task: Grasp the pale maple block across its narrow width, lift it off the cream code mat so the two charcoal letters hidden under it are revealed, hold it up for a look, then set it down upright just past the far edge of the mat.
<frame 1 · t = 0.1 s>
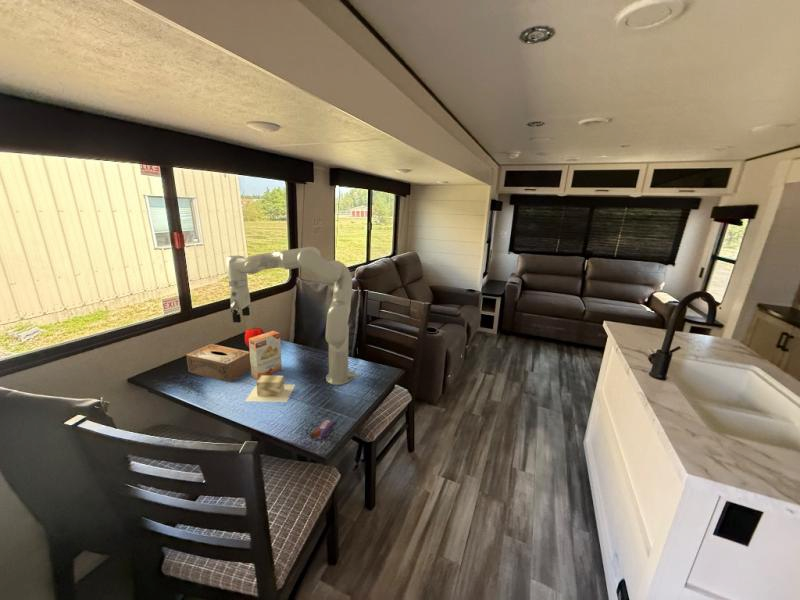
hand: (241, 318, 143), 31 cm above the table, tool pointing down, fingers open, 9 cm apart
maple block: (271, 392, 140), resting on code mat
tomato: (256, 348, 184), on the table
snack package: (323, 430, 119), on the table
tissue box cover: (221, 371, 157), on the table
cracker box: (267, 373, 157), on the table
code mat: (271, 392, 140), on the table
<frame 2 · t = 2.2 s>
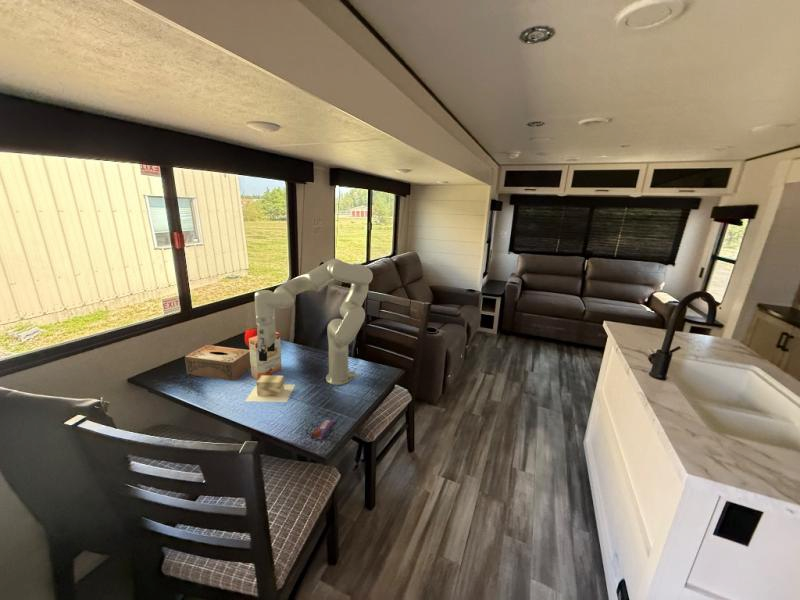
hand: (267, 355, 135), 19 cm above the table, tool pointing down, fingers open, 9 cm apart
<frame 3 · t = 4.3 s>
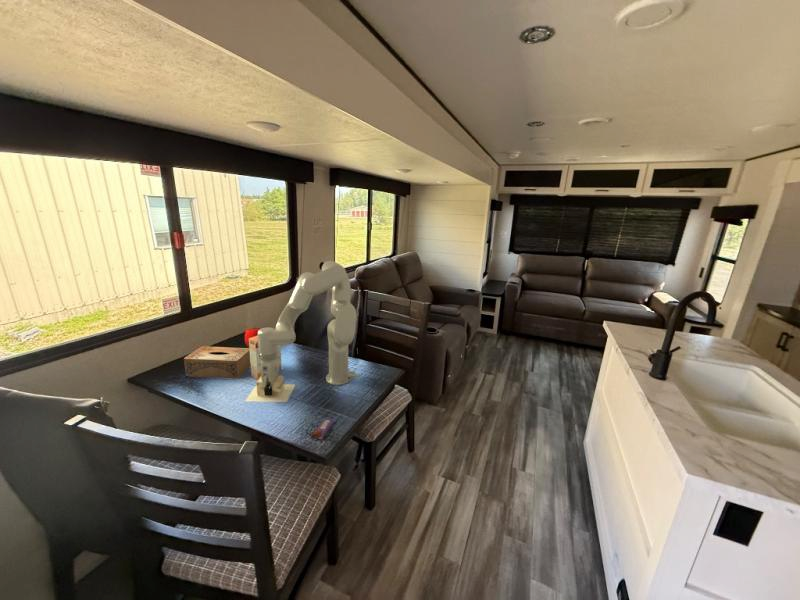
hand: (271, 390, 140), 1 cm above the table, tool pointing down, fingers closed on maple block, 6 cm apart
maple block: (271, 392, 140), resting on code mat, touching gripper
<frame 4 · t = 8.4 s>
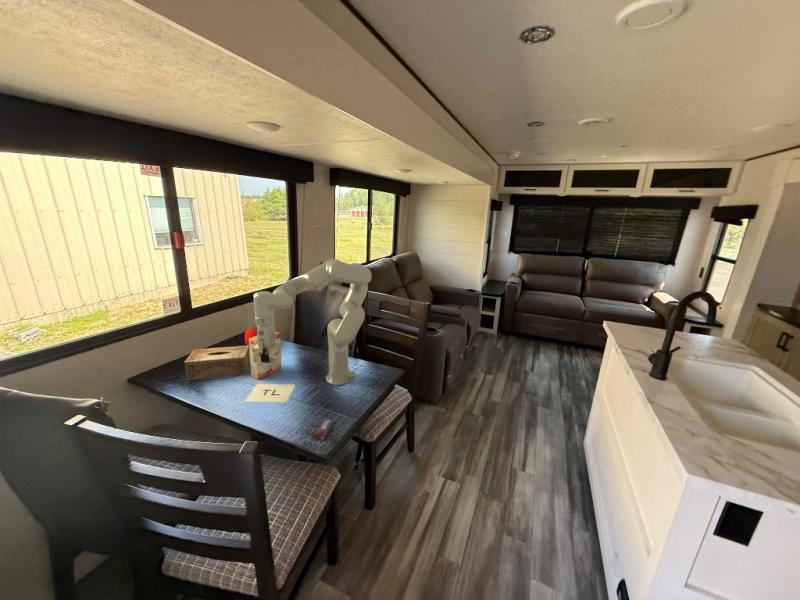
hand: (267, 358, 135), 18 cm above the table, tool pointing down, fingers closed on maple block, 6 cm apart
maple block: (267, 360, 135), point 17 cm above the table, touching gripper
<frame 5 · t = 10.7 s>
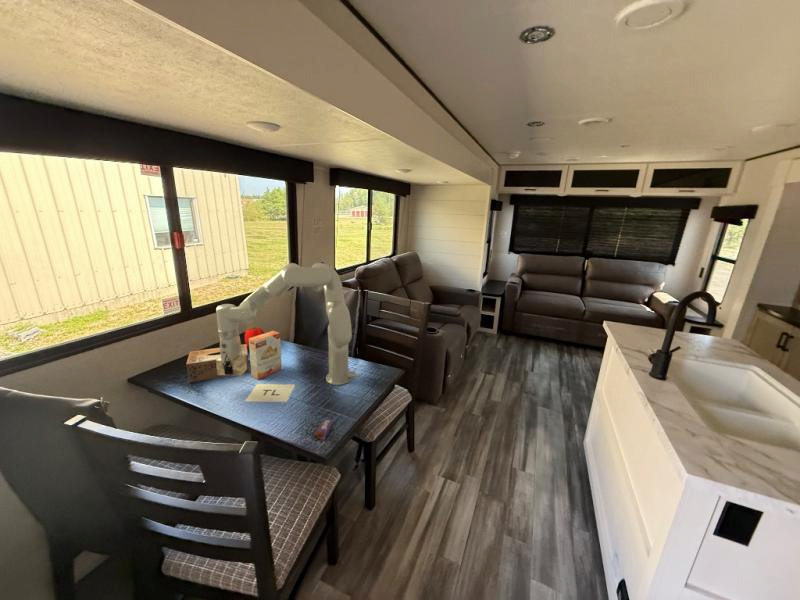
hand: (232, 370, 136), 11 cm above the table, tool pointing down, fingers closed on maple block, 6 cm apart
maple block: (232, 371, 136), point 11 cm above the table, touching gripper
when the fingers open (2 cm above the table, at t = 12.7 s): maple block drops 2 cm, on the table.
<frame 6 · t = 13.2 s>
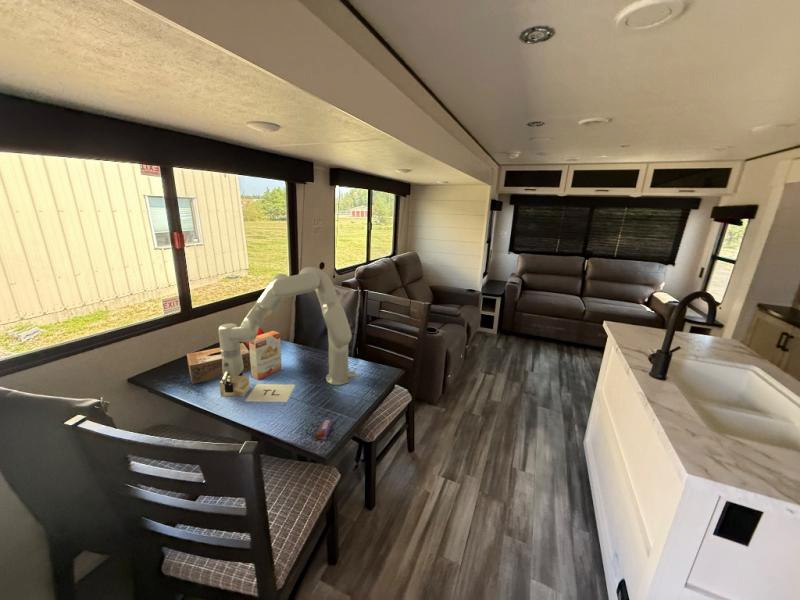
hand: (234, 386, 138), 3 cm above the table, tool pointing down, fingers open, 9 cm apart
maple block: (235, 392, 139), on the table
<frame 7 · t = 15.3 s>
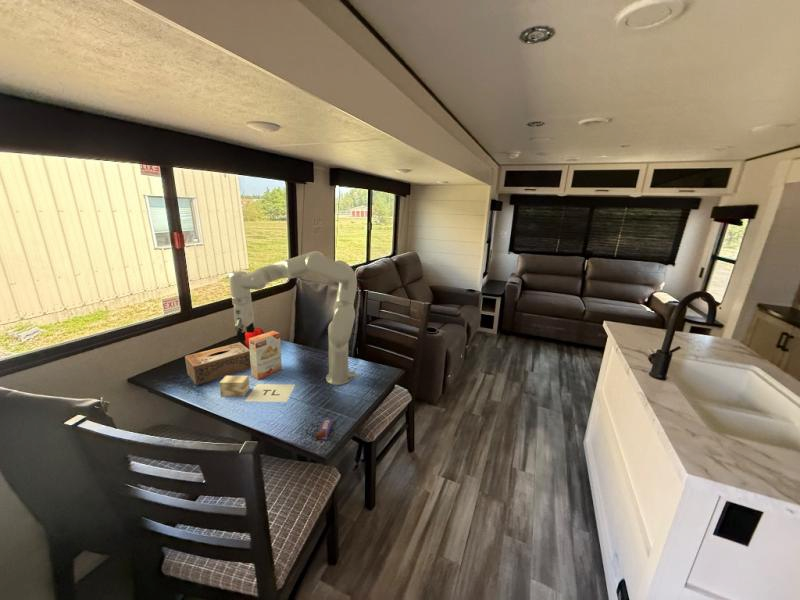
hand: (246, 336, 138), 25 cm above the table, tool pointing down, fingers open, 9 cm apart
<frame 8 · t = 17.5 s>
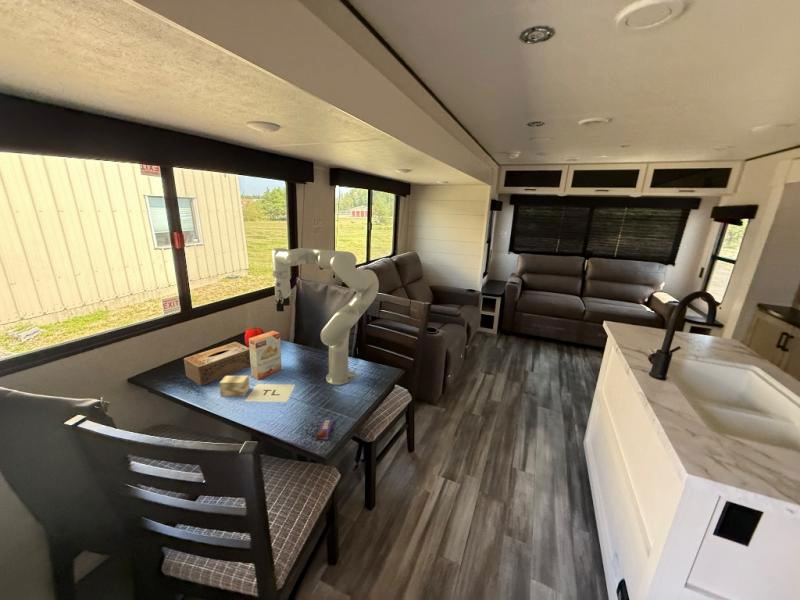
hand: (283, 308, 151), 34 cm above the table, tool pointing down, fingers open, 9 cm apart
at the end: maple block inside the target area on the table beside the code mat (0.1 cm from its centre), on the table; maple block tilted 0°; the gripper is holding nothing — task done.
